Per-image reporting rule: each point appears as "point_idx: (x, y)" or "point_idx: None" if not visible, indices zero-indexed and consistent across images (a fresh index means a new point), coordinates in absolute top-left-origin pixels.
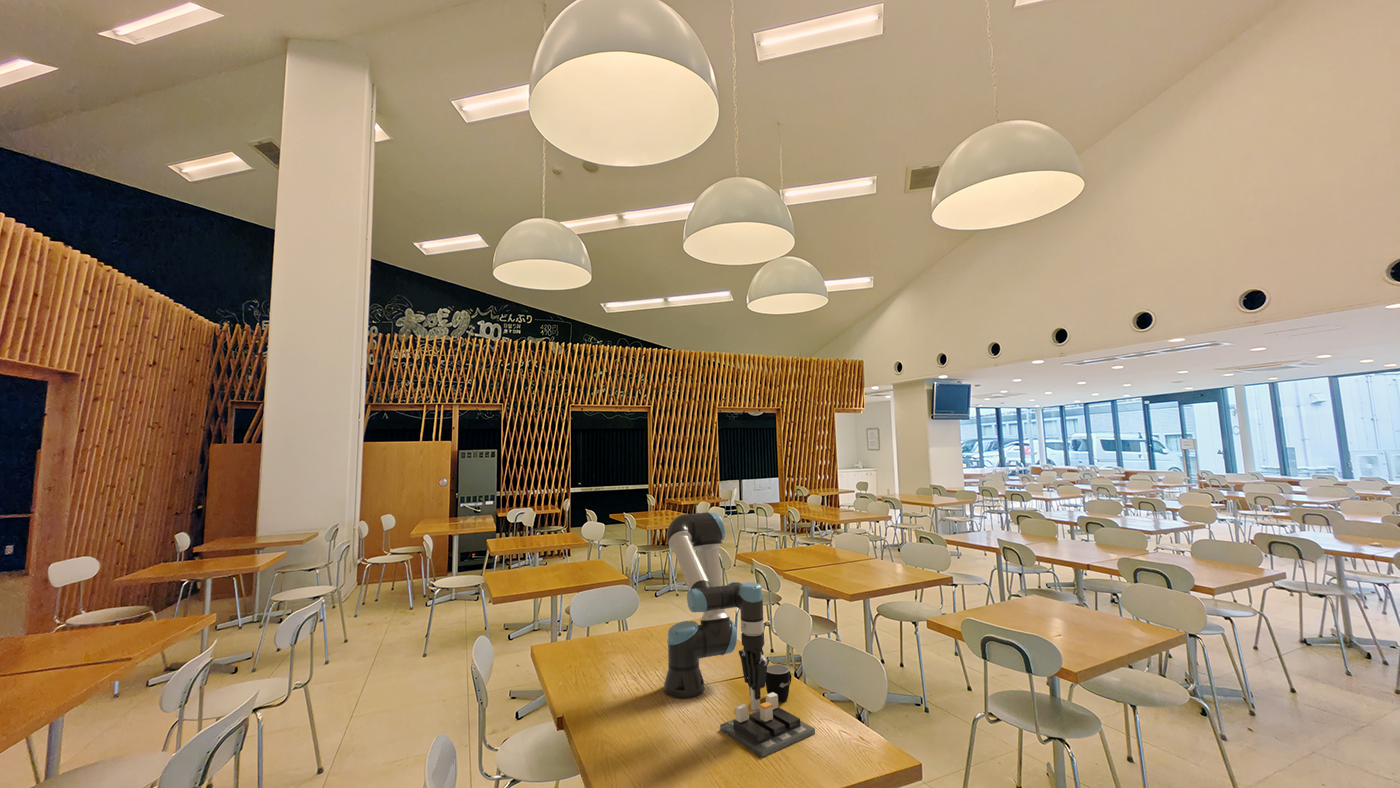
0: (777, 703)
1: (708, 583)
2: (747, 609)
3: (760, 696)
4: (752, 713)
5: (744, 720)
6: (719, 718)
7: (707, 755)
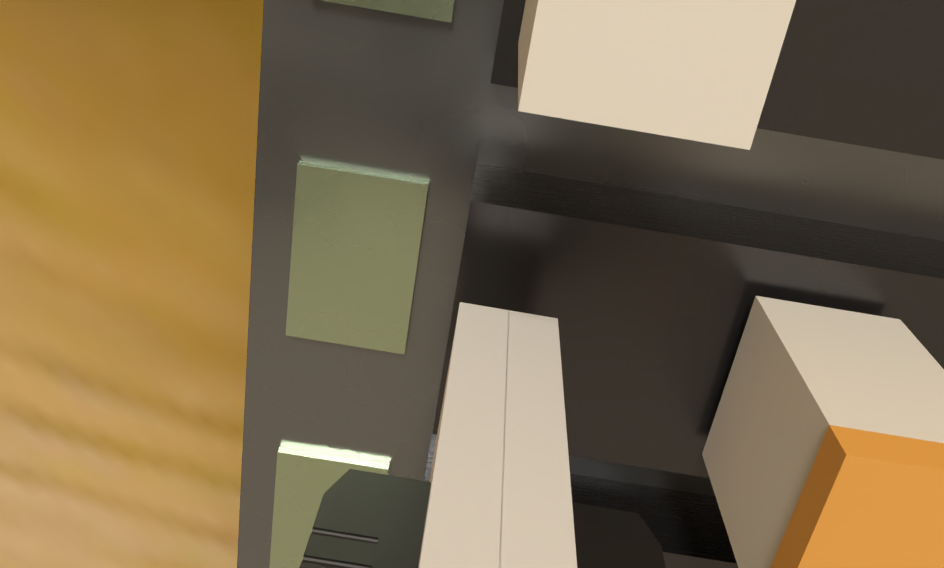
0: None
1: None
2: None
3: (664, 566)
4: (444, 365)
5: None
6: (5, 431)
7: None
